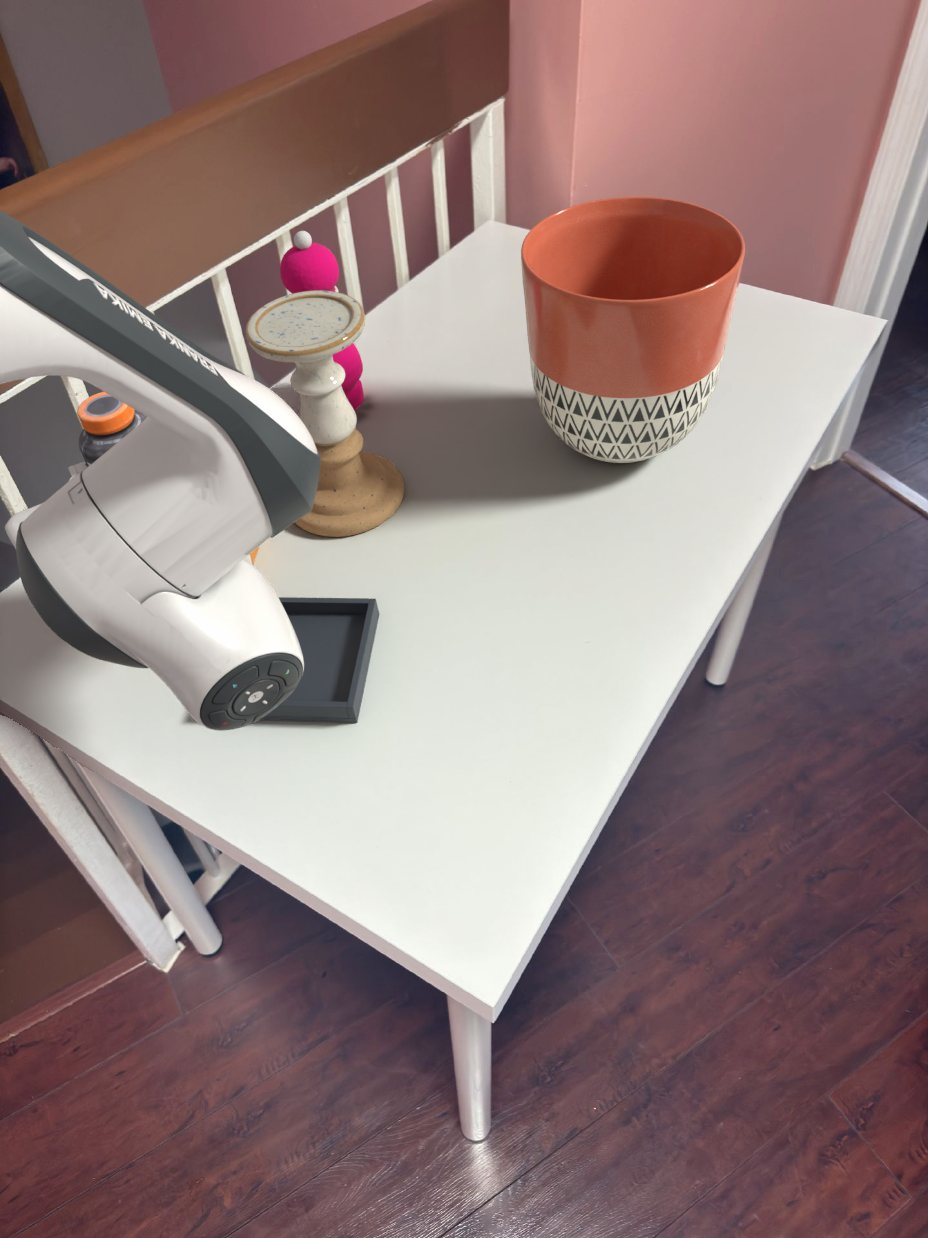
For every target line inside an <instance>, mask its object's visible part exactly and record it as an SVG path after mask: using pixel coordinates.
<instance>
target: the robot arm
mask: <svg viewBox="0 0 928 1238" xmlns="http://www.w3.org/2000/svg"><path fill="white" fill-rule="evenodd" d="M48 376H49V377H53V376H54V377H55V376H57V377H66V378H67V377H69V378H74V379H77V380H81V381H83V382H86V383H87V384H89V385H91V386H93V387H95V388H97V389H98V390H100V391H101V392H105V393H107V394H109V395H111V396H112V397H114V398H116V399H118V400H119V401H121V402H123V403H125V404H126V405H128V406H130V407H132V408H133V409H134V411H138V412H140V413H142V414H144V415H146V416H147V418H146V419H145V420H144V421H143V422H142V423H140V424H139V425H138V426H137V427H136V428H134V429H133V430H132V431H131V432H130V433H128V434H127V435H126V436H125V437H124V438H122V439H121V440H120V441H119V442H118V443H116V444H115V445H114V446H113V447H112V448H110V449H109V450H108V451H107V452H106V453H104V454H103V455H102V456H101V457H99V458H98V459H97V460H96V461H95V462H93V463H92V464H91V465H90V466H89V467H88V466H87V464H86V462H85V460H84V461H81V462H77V463H75V464H74V465H73V464H72V465H70V466H68V467H67V470H68V471H69V474H70V475H71V477H70V478H69V480H68V481H67V482H66V483H65V484H64V485H63V486H61V487H60V488H59V489H58V490H57V491H55V492H54V493H53V494H52V495H51V496H50V497H49V498H47V499H46V500H44V502H42V503H39V504H37V505H34V506H32V507H29V508H27V509H23V510H20V511H18V512H15V513H14V514H12V516H10V518H9V519H8V520H7V522H6V523H5V525H4V530H5V532H6V535H7V536H8V538H9V540H10V542H11V544H12V545H13V548H14V549H15V555H16V561H17V568H18V572H19V576H20V581H21V584H22V587H23V589H24V591H25V594H26V596H27V598H28V599H29V601H30V603H31V604H32V606H33V608H34V609H35V611H36V613H37V614H38V615H39V616H40V618H41V620H42V621H43V622H44V623H45V624H46V625H47V627H48V628H49V629H50V630H51V631H52V632H53V633H54V634H55V635H56V636H57V637H59V638H60V639H61V640H63V642H65V643H66V644H68V645H69V646H71V647H72V648H74V649H75V650H77V651H79V652H80V653H82V654H84V655H86V656H89V657H91V658H94V659H97V660H100V661H103V662H107V663H111V664H116V665H120V666H125V667H130V668H136V669H149V670H150V671H151V672H152V673H154V674H155V676H157V677H158V678H159V679H160V680H161V681H162V682H163V683H164V684H165V685H166V687H167V688H168V689H169V690H170V691H171V692H172V694H173V695H174V696H175V698H176V699H177V700H178V701H179V703H180V704H181V705H182V707H183V708H184V710H185V711H186V712H187V713H188V715H190V716H191V718H192V719H193V720H194V721H195V722H197V724H199V725H201V726H202V727H204V728H206V729H208V730H211V731H212V730H213V731H217V732H219V731H224V732H225V731H233V730H236V729H240V728H244V727H246V726H248V725H251V724H255V723H256V722H258V721H261V720H260V719H261V718H263V717H264V716H266V715H267V714H268V713H270V712H271V711H272V710H274V709H275V708H276V707H277V706H278V705H280V704H281V703H282V702H283V701H284V700H285V699H286V698H287V697H289V696H290V695H291V694H292V692H293V691H294V690H295V688H296V687H297V686H298V684H299V682H300V680H301V678H302V675H303V671H304V659H303V654H302V651H301V647H300V644H299V641H298V639H297V636H296V633H295V631H294V629H293V626H292V624H291V622H290V620H289V617H288V615H287V613H286V611H285V609H284V607H283V605H282V604H281V602H280V600H279V598H278V597H279V596H278V595H277V593H276V591H275V590H274V588H273V586H272V584H271V583H270V581H269V579H268V578H267V577H266V576H265V574H264V573H263V572H262V571H261V570H260V569H259V568H258V567H257V566H255V565H254V564H253V565H252V562H251V557H250V553H252V552H253V551H254V550H255V549H256V548H258V547H259V548H260V546H261V545H262V544H264V543H265V542H266V541H267V540H269V539H270V538H271V539H273V538H274V537H276V536H277V535H279V534H281V532H283V531H284V530H286V529H288V528H289V527H291V526H292V525H293V524H295V522H296V521H297V520H299V519H300V518H302V517H303V516H305V515H306V514H308V513H309V512H310V511H312V508H313V504H314V500H315V497H316V492H317V487H318V482H319V474H320V460H321V456H320V453H319V451H318V450H317V448H316V446H315V443H314V441H313V439H312V437H311V435H310V433H309V431H308V430H307V428H306V426H305V425H304V423H303V422H302V421H301V419H300V418H299V417H300V416H298V414H297V413H296V412H295V410H294V409H293V408H292V407H291V406H290V405H289V404H288V403H287V402H286V401H285V400H284V399H283V398H282V397H280V396H279V395H278V394H277V393H275V392H274V391H273V390H272V389H270V388H269V387H267V386H266V385H264V384H263V383H261V382H259V381H258V380H255V379H254V378H252V377H249V376H248V375H246V374H245V373H243V372H242V371H240V370H238V368H236V367H234V366H232V365H231V364H229V363H227V362H225V361H223V360H222V359H220V358H218V357H216V356H215V355H213V354H211V353H210V352H208V351H206V350H205V349H204V348H203V347H200V346H199V345H198V344H196V343H195V342H193V341H192V340H190V339H189V338H188V337H186V336H185V335H183V333H181V332H179V331H178V330H177V329H175V328H174V327H172V326H171V325H170V324H168V323H167V322H166V321H164V320H163V319H161V318H159V316H157V315H156V314H155V313H153V312H151V311H150V310H149V309H147V308H146V307H144V306H143V305H141V304H140V303H139V302H137V300H135V299H133V298H132V297H131V296H129V295H128V294H126V293H125V292H123V291H122V290H121V289H119V288H118V287H117V286H116V285H114V284H112V283H111V282H109V280H107V279H105V278H104V277H102V275H100V274H98V272H95V271H94V270H92V268H90V267H88V266H87V265H86V264H84V263H83V262H81V261H80V260H78V259H76V258H75V257H73V255H71V254H69V253H68V252H66V251H65V250H63V249H62V248H60V247H59V246H57V245H56V244H54V243H53V242H52V241H50V240H49V239H47V238H46V237H44V236H43V235H41V234H40V233H38V232H36V231H35V230H33V229H32V228H30V227H29V226H28V225H25V224H24V223H23V222H21V221H19V220H17V219H16V218H14V217H12V216H11V215H10V214H7V213H6V212H4V211H2V210H1V209H0V385H3V384H8V383H11V382H14V381H19V380H25V379H29V378H30V379H31V378H37V377H48ZM259 548H258V549H259Z"/></svg>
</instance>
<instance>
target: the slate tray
mask: <svg viewBox="0 0 928 1238" xmlns="http://www.w3.org/2000/svg"><path fill="white" fill-rule="evenodd" d="M278 598H279V600H280V602H281V604H282V605H283V607H284V609H285V611H286V613H287V615H288V617H289V620H290V622H291V624H292V626H293V629H294V631H295V633H296V636H297V639H298V641H299V644H300V647H301V651H302V654H303V659H304V671H303V675H302V678H301V680H300V682H299V684H298V686H297V687H296V688H295V690H294V691H293V692H292V694H291V695H290V696H289V697H287V698H286V699H285V700H284V701H283V702H282V703H281V704H280V705H278V706H277V707H276V708H275V709H274V710H272V711H271V712H270V713H268V714H267V715H266V716H264V717H263V718H261V719H260V720H259V721H283V722H284V721H285V722H315V723H316V722H317V723H318V722H319V723H320V722H321V723H350V724H351V723H352V724H354V723H355V724H356V723H358V721H359V717H360V712H361V711H360V710H361V707H362V701H363V696H364V692H365V686H366V681H367V677H368V673H369V667H370V662H371V659H372V658H371V657H372V652H373V647H374V643H375V637H376V633H377V627H378V622H379V617H380V611H379V606H378V602H377V599H376V598H367V597H366V598H365V597H364V598H360V597H288V596H287V597H285V596H284V597H281V596H278Z"/></svg>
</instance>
